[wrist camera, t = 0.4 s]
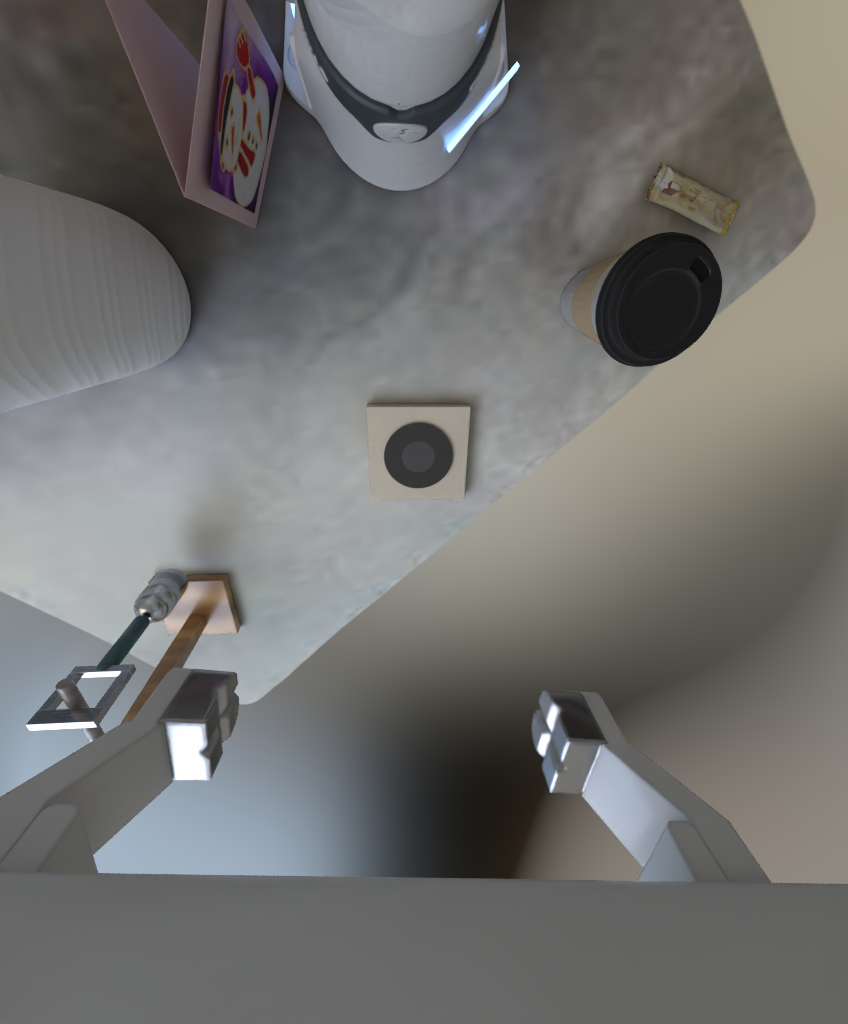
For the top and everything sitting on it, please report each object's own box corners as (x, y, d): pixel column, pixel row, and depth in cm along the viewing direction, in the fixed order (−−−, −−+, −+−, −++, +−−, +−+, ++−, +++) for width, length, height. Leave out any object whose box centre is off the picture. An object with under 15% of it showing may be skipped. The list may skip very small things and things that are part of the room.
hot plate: (367, 403, 47) (366, 407, 46) (468, 404, 48) (471, 407, 46) (371, 496, 53) (371, 502, 51) (462, 494, 54) (464, 500, 52)
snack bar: (742, 201, 39) (731, 232, 40) (728, 209, 41) (718, 240, 41) (662, 159, 37) (651, 193, 38) (650, 169, 39) (640, 202, 39)
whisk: (151, 563, 53) (16, 713, 34) (195, 561, 53) (86, 709, 34) (160, 587, 55) (37, 741, 36) (203, 586, 55) (103, 738, 36)
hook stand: (142, 545, 54) (-29, 717, 32) (218, 544, 55) (102, 711, 33) (173, 628, 61) (51, 815, 40) (240, 626, 62) (157, 808, 40)
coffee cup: (644, 259, 42) (758, 244, 29) (609, 355, 46) (694, 379, 33) (559, 239, 41) (638, 214, 27) (531, 339, 45) (588, 359, 32)
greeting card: (265, 233, 39) (199, 203, 26) (183, 195, 37) (67, 141, 24) (295, 83, 34) (233, -48, 21) (202, 31, 32) (71, -149, 19)
